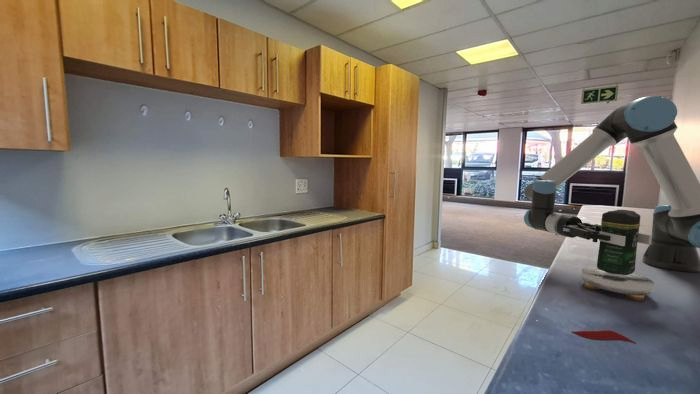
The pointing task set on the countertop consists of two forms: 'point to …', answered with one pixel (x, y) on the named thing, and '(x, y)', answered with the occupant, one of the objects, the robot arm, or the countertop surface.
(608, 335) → the curved red sliver
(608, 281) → the plate
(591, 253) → the countertop surface
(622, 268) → the coffee jar
